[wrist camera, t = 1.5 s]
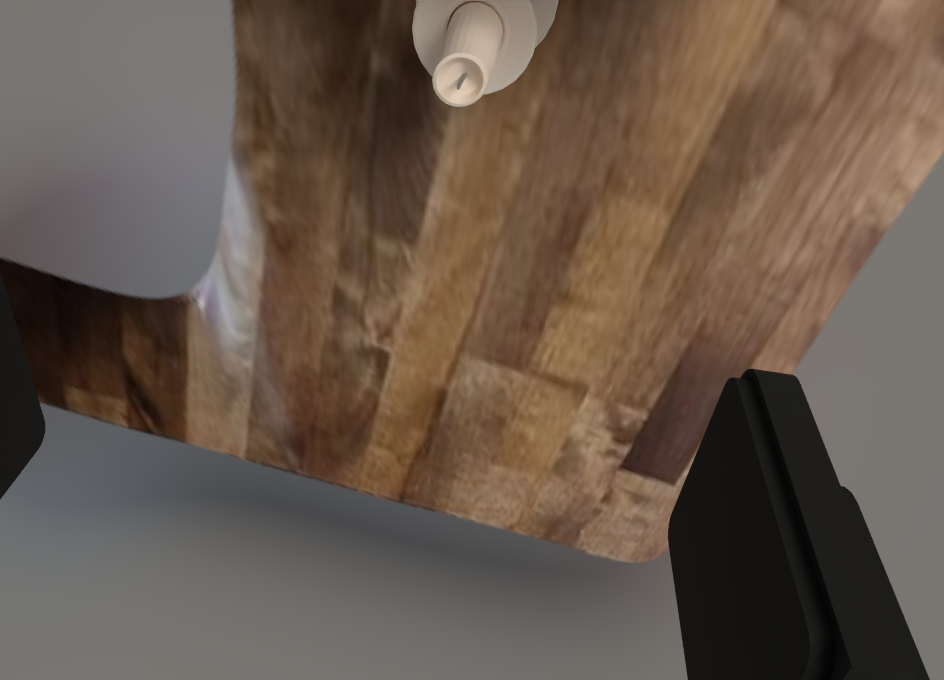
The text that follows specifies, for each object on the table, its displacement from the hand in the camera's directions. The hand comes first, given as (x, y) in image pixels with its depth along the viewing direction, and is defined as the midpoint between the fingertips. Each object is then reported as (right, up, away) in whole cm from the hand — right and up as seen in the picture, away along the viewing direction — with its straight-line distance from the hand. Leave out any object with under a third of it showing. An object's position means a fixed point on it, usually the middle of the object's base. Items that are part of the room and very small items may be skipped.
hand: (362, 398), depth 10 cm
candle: (+2, +14, +18) cm, 23 cm away
